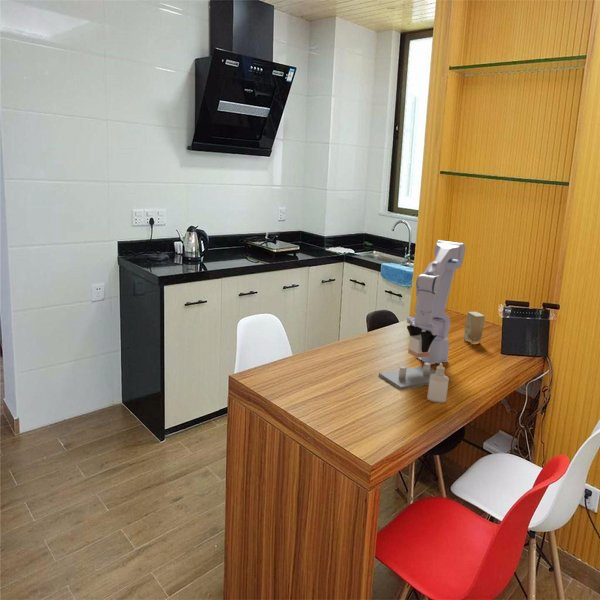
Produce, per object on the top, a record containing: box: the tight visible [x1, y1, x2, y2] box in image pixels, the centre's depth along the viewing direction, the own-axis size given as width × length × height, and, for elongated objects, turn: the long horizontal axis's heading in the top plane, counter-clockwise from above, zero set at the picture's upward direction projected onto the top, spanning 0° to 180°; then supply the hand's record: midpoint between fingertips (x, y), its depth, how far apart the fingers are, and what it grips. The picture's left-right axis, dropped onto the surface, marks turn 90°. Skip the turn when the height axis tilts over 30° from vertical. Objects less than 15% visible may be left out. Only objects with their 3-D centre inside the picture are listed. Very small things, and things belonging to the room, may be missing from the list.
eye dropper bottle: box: [426, 363, 450, 404], centre depth 163 cm, size 4×6×12 cm
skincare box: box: [463, 311, 486, 343], centre depth 219 cm, size 6×4×12 cm
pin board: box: [378, 362, 450, 391], centre depth 179 cm, size 20×12×4 cm, turn 117°
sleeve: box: [407, 334, 431, 359], centre depth 182 cm, size 5×5×6 cm
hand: (419, 349), depth 182 cm, fingers closed on sleeve, 5 cm apart
